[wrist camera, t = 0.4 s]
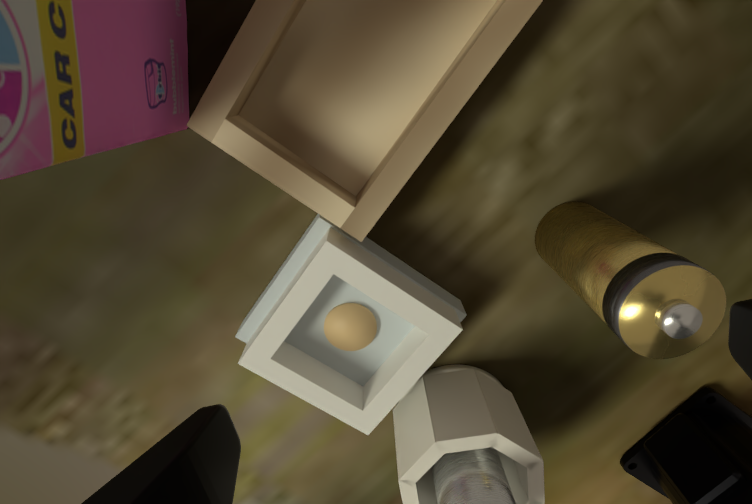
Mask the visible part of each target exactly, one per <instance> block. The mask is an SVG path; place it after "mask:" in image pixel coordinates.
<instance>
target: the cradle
mask: <svg viewBox="0 0 752 504" xmlns="http://www.w3.org/2000/svg"><path fill="white" fill-rule="evenodd" d="M466 316H467V315H466V312H465V310H464V308H463V305H462V303H461V300H459V299H458V298H456V297H455V296H453V295H452V294H450V293H449V292H447V291H446V290H444V289H443V288H441V287H440V286H438V285H437V284H436V283H434V282H433V281H431V280H430V279H428V278H427V277H425V276H424V275H422V274H421V273H419V272H418V271H416V270H415V269H413V268H412V267H410V266H409V265H407V264H406V263H404V262H403V261H401V260H400V259H398V258H397V257H395V256H394V255H392V254H391V253H389V252H388V251H386V250H385V249H383V248H382V247H380V246H379V245H377V244H376V243H374V242H373V241H371V240H370V239H369V238H367V237H365V238H364V239H363V241H362V242H360V241H359V240H357V239H356V238H354V237H353V236H351V235H350V234H348V233H347V232H345V231H344V230H342V229H341V228H339V227H338V226H336V225H335V224H333V223H332V222H330V221H329V220H327V219H326V218H324V217H323V216H321V215H320V214H317V216H316V217H315V219H314V220H313V222H312V223H311V224H310V226H309V227H308V229H307V230H306V232H305V233H304V234H303V236H302V237H301V239H300V240H299V242H298V243H297V244H296V246H295V247H294V249H293V250H292V252H291V253H290V254H289V256H288V257H287V259H286V260H285V262H284V263H283V264H282V266H281V267H280V269H279V270H278V272H277V273H276V274H275V276H274V277H273V279H272V280H271V282H270V283H269V284H268V286H267V287H266V289H265V290H264V292H263V293H262V294H261V296H260V297H259V299H258V300H257V302H256V303H255V305H254V306H253V307H252V309H251V310H250V312H249V313H248V315H247V316H246V317H245V319H244V320H243V322H242V324H241V326H240V328H239V330H238V332H237V334H236V336H235V337H236V338H238V339H240V340H241V341H243V342H245V343H247V344H246V346H245V349H244V351H243V353H242V355H241V358H240V360H239V362H238V364H239V365H241V366H243V367H245V368H247V369H248V370H250V371H252V372H254V373H256V374H258V375H259V376H261V377H263V378H265V379H267V380H268V381H270V382H272V383H274V384H276V385H278V386H279V387H281V388H283V389H285V390H287V391H288V392H290V393H292V394H294V395H296V396H298V397H299V398H301V399H303V400H305V401H307V402H308V403H310V404H312V405H314V406H316V407H318V408H319V409H321V410H323V411H325V412H327V413H328V414H330V415H332V416H334V417H336V418H338V419H339V420H341V421H343V422H345V423H347V424H348V425H350V426H352V427H354V428H356V429H358V430H359V431H361V432H363V433H365V434H367V435H369V434H370V433H371V432H372V430H373V429H374V428H375V427H376V426H377V425H378V424H379V423H380V422H381V420H382V419H383V418H384V417H385V416H386V415H387V414H388V413H389V412H390V410H391V409H392V408H393V407H394V406H395V405H396V404H397V403H398V401H399V400H400V399H401V398H402V397H403V396H404V395H405V394H406V393H407V391H408V390H409V389H410V388H411V387H412V386H413V385H414V384H415V383H416V381H417V380H418V379H419V378H420V377H421V376H422V375H423V374H424V373H425V371H426V370H427V369H428V368H429V367H430V366H431V365H432V364H433V362H434V361H435V360H436V359H437V358H438V357H439V356H440V355H441V354H442V352H443V351H444V350H445V349H446V348H447V347H448V346H449V345H450V344H451V342H452V341H453V340H454V339H455V338H456V337H457V336H458V335H459V333H460V332H461V331H462V330H463V329H462V326H461V324H460V322H461V321H462V320H463V319H464V318H465V317H466Z"/></svg>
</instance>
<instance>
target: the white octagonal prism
mask: <svg viewBox="0 0 752 504" xmlns="http://www.w3.org/2000/svg"><path fill="white" fill-rule="evenodd" d="M393 419H394V431H395V444H396V456H397V468H398V481H399V486H400V491H401V497H402V502H403V504H438V503H437V498H436V492H435V486H434V480H433V474H432V468H431V467H432V466H433V465H434V464H435V463H436V462H437V461H438V460H439V459H440V458H441V457H442V456H443V455H444V454H446V453H453V452H460V451H467V450H474V449H482V448H489V447H493V448H494V449H496V450H497V452H498V454H499V457H500V460H501V463H502V466H503V469H504V471H505V474H506V477H507V480H508V483H509V486H510V488H511V491H512V494H513V497H514V500H515V503H516V504H544V503H545V496H544V467H543V459H542V457H541V455H540V453H539V451H538V448H537V446H536V444H535V442H534V440H533V438H532V436H531V433H530V431H529V429H528V427H527V425H526V423H525V420H524V418H523V416H522V414H521V412H520V410H519V408H518V405H517V403H516V401H515V399H514V397H513V395H512V393H511V392H510V391H508V390H507V389H505V388H504V387H503V385H502V384H501V383H500V382H499V381H498V380H497V379H496V378H495V377H494V376H493V375H491V374H490V373H488V372H486V371H484V370H482V369H480V368H477V367H473V366H468V365H445V366H440V367H437V368H433V369H431V370H428V371H426V372H425V373H424V374H423V375H422V376H421V377H420V378H419V379H418V380H417V381H416V383H415V384H414V385H413V386H412V387H411V388H410V389H409V390H408V391H407V393H406V394H405V395H404V396H403V397H402V398H401V399H400V400H399V401H398V403H397V404H396V407H395V408H394V409H393Z"/></svg>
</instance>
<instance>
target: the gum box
mask: <svg viewBox="0 0 752 504" xmlns="http://www.w3.org/2000/svg"><path fill="white" fill-rule="evenodd" d="M188 121H189V86H188V44H187V15H186V1H185V0H0V180H2V179H6V178H9V177H13V176H16V175H20V174H24V173H27V172H31V171H34V170H38V169H42V168H45V167H49V166H53V165H56V164H60V163H63V162H67V161H71V160H74V159H78V158H82V157H85V156H89V155H93V154H97V153H100V152H104V151H108V150H111V149H115V148H119V147H122V146H126V145H130V144H134V143H137V142H141V141H144V140H148V139H152V138H156V137H160V136H163V135H167V134H170V133H173V132H177V131H181V130H186V129H187V128H188V126H186V125H187V123H188Z"/></svg>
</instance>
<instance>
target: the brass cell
mask: <svg viewBox="0 0 752 504" xmlns="http://www.w3.org/2000/svg"><path fill="white" fill-rule="evenodd" d="M535 246H536V249H537V252H538V253H539V255H540V256H541V258H542V259H543V260H544V261H545V262H546V263H547V264H548V265H549V266H550V267H551V268H552V269H553V270H554V271H555V272H556V273H557V274H558V275H559V276H560V277H561V278H562V279H563V280H564V281H565V282H566V283H567V284H568V285H569V286H570V287H571V288H572V289H573V290H574V291H575V292H576V293H577V294H578V296H579V297H580V298H581V299H582V300H583V301H584V302H585V303H586V304H587V305H588V306H589V307H590V308H591V309H592V310H593V311H594V312H595V313H596V314H597V315H598V316H599V317H600V318H601V319H602V320H603V321H604V322H605V323H606V324H607V325H608V327H609V328H610V329H611V330H612V331H613V332H614V333H615V334H616V335H617V336H618V337H619V338H620V339H621V340H622V341H623V342H624V343H625V344H626V345H627V346H628V347H629V348H630V349H631V350H633V351H634V352H636V353H638V354H639V355H642V356H644V357H648V358H653V359H668V358H674V357H678V356H681V355H684V354H686V353H689V352H690V351H692V350H694V349H696V348H697V347H699V346H700V345H702V344H703V343H704V342H706V341H707V340H708V339H709V338H710V337H711V336H712V335H713V333H714V332H715V331H716V330H717V328H718V327H719V325H720V323H721V321H722V319H723V316H724V314H725V309H726V294H725V290H724V288H723V286H722V284H721V283H720V281H719V280H718V279H717V278H716V277H715V276H714V275H713V274H712V273H710V272H709V271H708V270H706V269H704V268H702V267H700V266H699V265H697V264H695V263H693V262H692V261H690V260H688V259H686V258H684V257H682V256H680V255H678V254H676V253H674V252H672V251H671V250H669V249H667V248H665V247H664V246H662V245H660V244H658V243H656V242H655V241H653V240H651V239H649V238H648V237H646V236H644V235H642V234H641V233H639V232H637V231H635V230H633V229H632V228H630V227H628V226H626V225H625V224H623V223H621V222H619V221H617V220H616V219H614V218H612V217H610V216H609V215H607V214H605V213H603V212H602V211H600V210H598V209H596V208H594V207H593V206H591V205H589V204H586V203H583V202H567V203H563V204H561V205H558V206H556V207H555V208H553V209H551V210H550V211H549V212H548V213H547V214H546V215H545V216H544V217H543V218H542V220H541V221H540V223H539V225H538V227H537V230H536V234H535Z"/></svg>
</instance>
